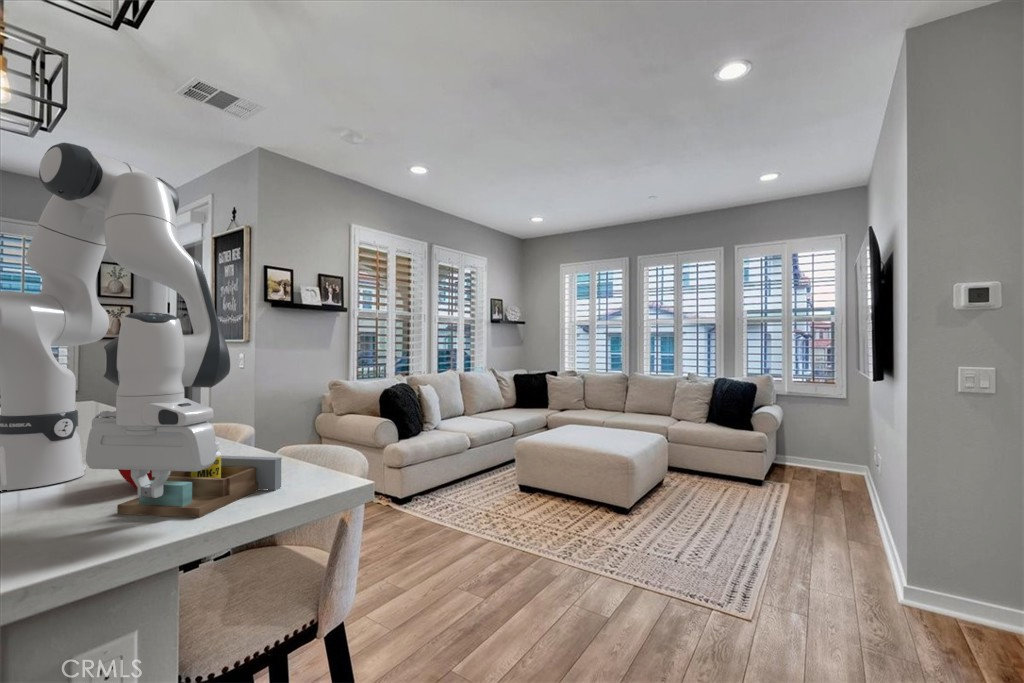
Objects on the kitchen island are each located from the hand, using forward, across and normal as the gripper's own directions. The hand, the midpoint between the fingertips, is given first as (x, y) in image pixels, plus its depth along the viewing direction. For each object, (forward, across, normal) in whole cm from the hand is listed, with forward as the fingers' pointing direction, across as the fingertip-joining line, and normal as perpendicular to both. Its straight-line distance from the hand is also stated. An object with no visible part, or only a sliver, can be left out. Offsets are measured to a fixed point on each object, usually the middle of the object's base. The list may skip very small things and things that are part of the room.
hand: (150, 496), depth 76 cm
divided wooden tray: (+4, 0, +9) cm, 10 cm away
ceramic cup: (+4, -18, +20) cm, 27 cm away
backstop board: (+4, +1, +18) cm, 18 cm away
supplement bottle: (+2, 0, +12) cm, 13 cm away
